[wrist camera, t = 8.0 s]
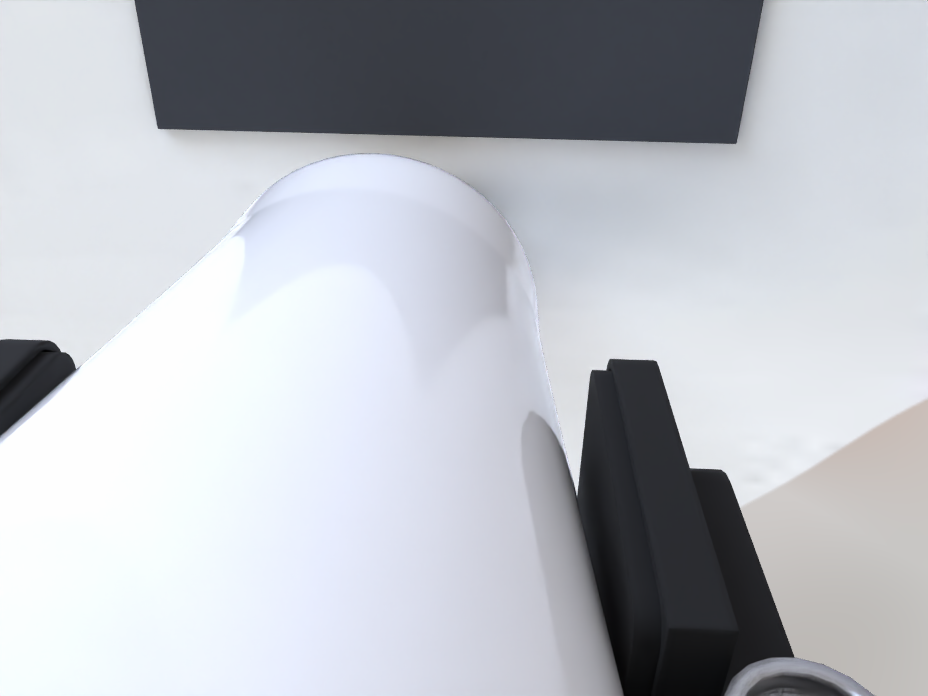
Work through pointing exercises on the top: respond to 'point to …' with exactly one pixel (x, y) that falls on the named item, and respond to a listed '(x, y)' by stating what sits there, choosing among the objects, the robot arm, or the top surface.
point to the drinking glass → (310, 470)
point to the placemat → (453, 67)
